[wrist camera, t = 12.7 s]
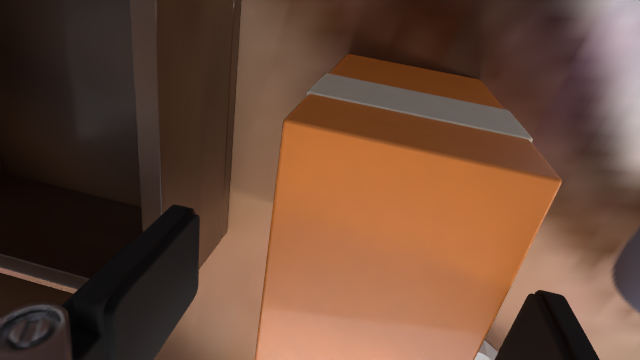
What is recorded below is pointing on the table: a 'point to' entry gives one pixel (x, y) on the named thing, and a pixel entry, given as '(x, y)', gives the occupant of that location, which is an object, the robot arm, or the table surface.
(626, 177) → the table surface
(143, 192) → the chest
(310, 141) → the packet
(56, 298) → the lid
